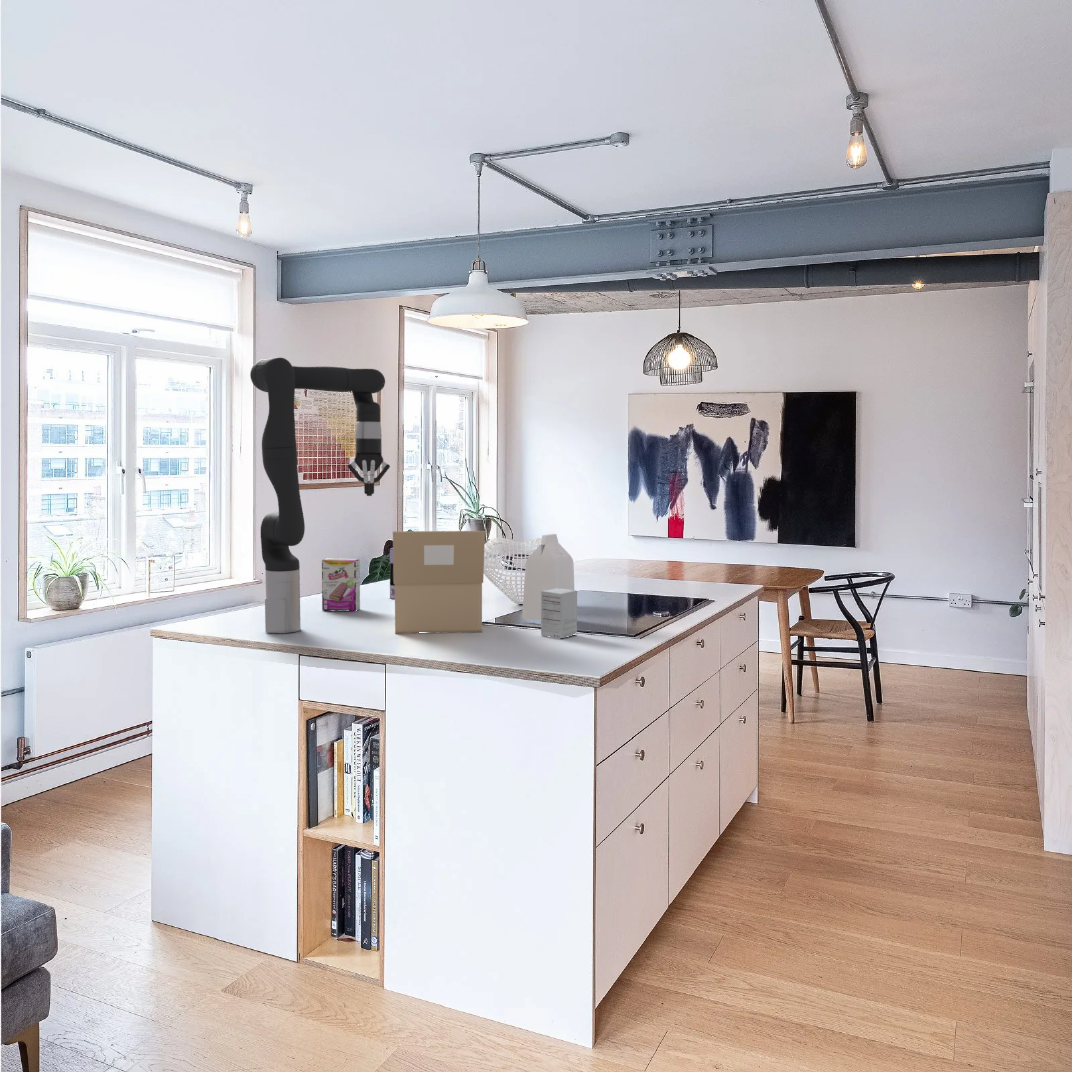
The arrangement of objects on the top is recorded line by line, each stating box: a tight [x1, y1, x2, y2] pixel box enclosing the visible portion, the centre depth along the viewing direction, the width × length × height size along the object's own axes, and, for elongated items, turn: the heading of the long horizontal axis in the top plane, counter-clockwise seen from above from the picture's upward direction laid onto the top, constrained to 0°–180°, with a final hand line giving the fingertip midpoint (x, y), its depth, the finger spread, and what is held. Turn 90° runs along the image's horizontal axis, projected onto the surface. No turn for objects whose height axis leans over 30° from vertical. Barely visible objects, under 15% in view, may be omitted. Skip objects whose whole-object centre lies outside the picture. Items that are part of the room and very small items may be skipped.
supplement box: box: [540, 588, 578, 639], centre depth 261 cm, size 7×7×13 cm
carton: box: [394, 583, 483, 635], centre depth 271 cm, size 16×24×14 cm, turn 97°
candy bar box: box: [321, 557, 361, 612], centre depth 301 cm, size 11×5×16 cm, turn 84°
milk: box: [521, 533, 575, 620], centre depth 282 cm, size 12×12×26 cm
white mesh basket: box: [483, 537, 542, 605], centre depth 312 cm, size 28×16×22 cm, turn 90°
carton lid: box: [392, 530, 486, 584], centre depth 259 cm, size 16×25×1 cm
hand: (369, 495), depth 284 cm, fingers closed
